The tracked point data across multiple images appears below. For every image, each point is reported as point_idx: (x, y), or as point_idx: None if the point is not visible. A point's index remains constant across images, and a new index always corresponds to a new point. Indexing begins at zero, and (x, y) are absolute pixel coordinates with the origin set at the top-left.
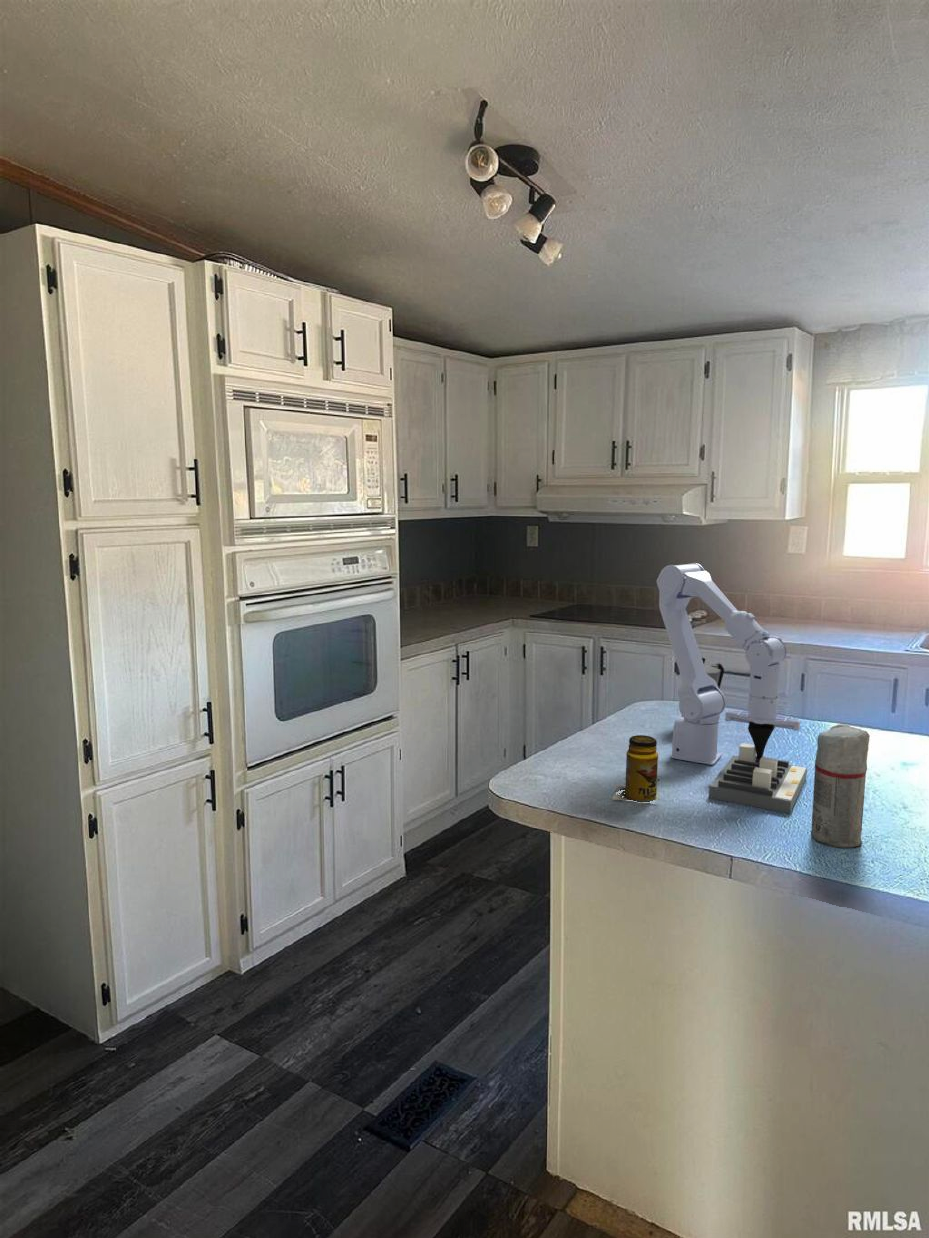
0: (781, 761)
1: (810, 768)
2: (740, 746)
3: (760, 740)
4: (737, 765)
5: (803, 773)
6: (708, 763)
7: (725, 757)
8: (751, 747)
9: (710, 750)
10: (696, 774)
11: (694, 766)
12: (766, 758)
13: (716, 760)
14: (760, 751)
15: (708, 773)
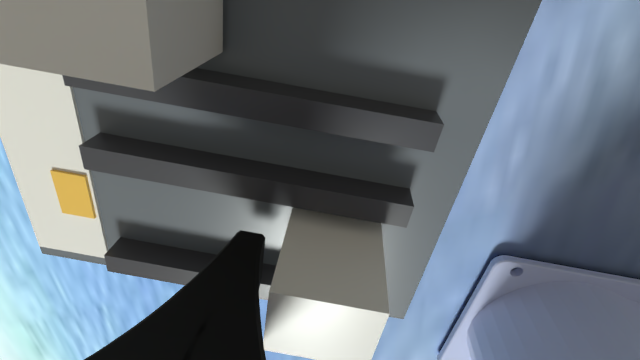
0: (140, 261)
1: (109, 314)
2: (380, 310)
3: (177, 346)
4: (396, 115)
5: (10, 161)
6: (522, 261)
7: (420, 346)
8: (292, 306)
9: (530, 338)
10: (635, 104)
11: (602, 224)
12: (96, 48)
13: (473, 300)
14: (221, 265)
15: (545, 145)
